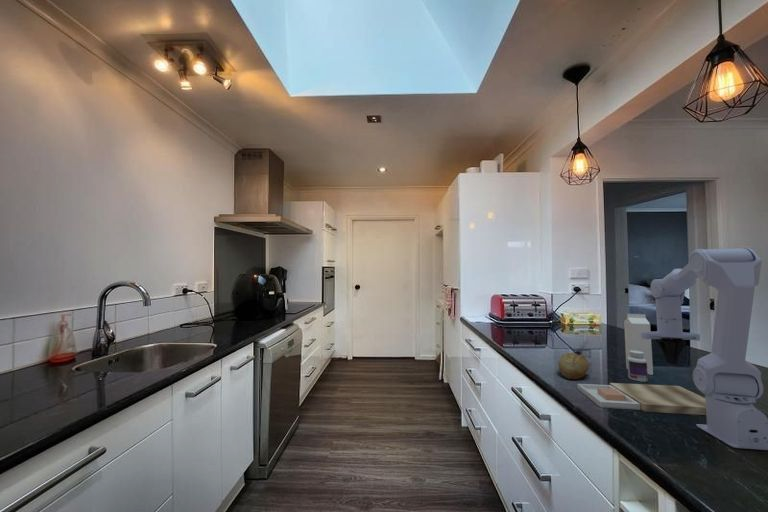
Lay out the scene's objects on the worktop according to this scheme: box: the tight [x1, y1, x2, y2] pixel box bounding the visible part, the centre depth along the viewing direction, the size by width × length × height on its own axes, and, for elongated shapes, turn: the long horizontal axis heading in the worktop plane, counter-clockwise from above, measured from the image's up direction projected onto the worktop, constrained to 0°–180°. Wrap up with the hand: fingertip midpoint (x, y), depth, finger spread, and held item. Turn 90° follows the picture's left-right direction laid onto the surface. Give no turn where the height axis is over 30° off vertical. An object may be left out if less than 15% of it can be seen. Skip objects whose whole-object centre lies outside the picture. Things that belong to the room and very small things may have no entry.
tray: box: [576, 383, 641, 411], centre depth 91 cm, size 10×14×2 cm
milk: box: [623, 313, 654, 376], centre depth 115 cm, size 6×6×22 cm
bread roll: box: [557, 352, 590, 380], centre depth 112 cm, size 10×15×8 cm, turn 142°
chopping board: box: [609, 382, 706, 416], centre depth 89 cm, size 20×16×2 cm
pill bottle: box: [627, 351, 649, 383], centre depth 107 cm, size 5×5×10 cm
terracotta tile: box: [597, 388, 625, 401], centre depth 91 cm, size 5×5×2 cm
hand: (671, 363), depth 91 cm, fingers closed
